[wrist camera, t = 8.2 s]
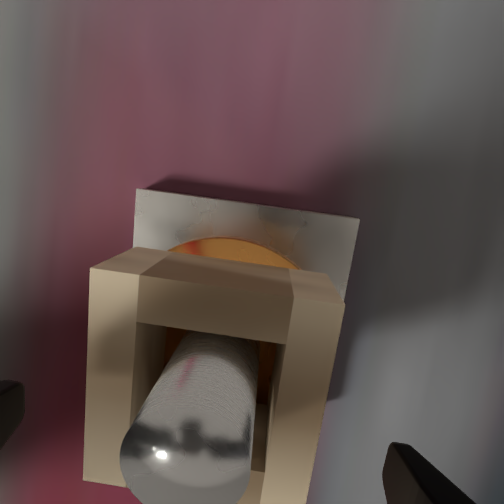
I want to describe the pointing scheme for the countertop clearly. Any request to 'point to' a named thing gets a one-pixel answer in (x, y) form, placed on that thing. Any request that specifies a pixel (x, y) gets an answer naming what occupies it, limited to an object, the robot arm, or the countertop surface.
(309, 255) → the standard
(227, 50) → the countertop surface
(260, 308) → the collar
